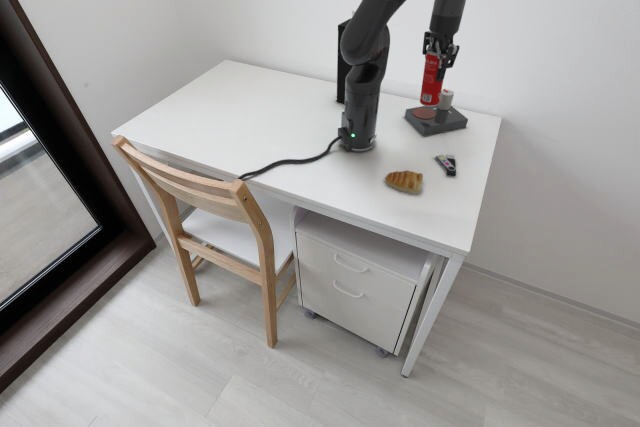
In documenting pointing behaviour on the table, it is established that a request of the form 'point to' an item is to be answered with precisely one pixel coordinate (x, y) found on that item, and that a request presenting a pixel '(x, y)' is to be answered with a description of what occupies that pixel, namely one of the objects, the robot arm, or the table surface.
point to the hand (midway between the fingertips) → (433, 76)
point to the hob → (437, 120)
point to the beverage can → (431, 81)
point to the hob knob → (445, 99)
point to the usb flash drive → (447, 164)
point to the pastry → (405, 181)
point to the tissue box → (342, 65)
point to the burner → (424, 113)
